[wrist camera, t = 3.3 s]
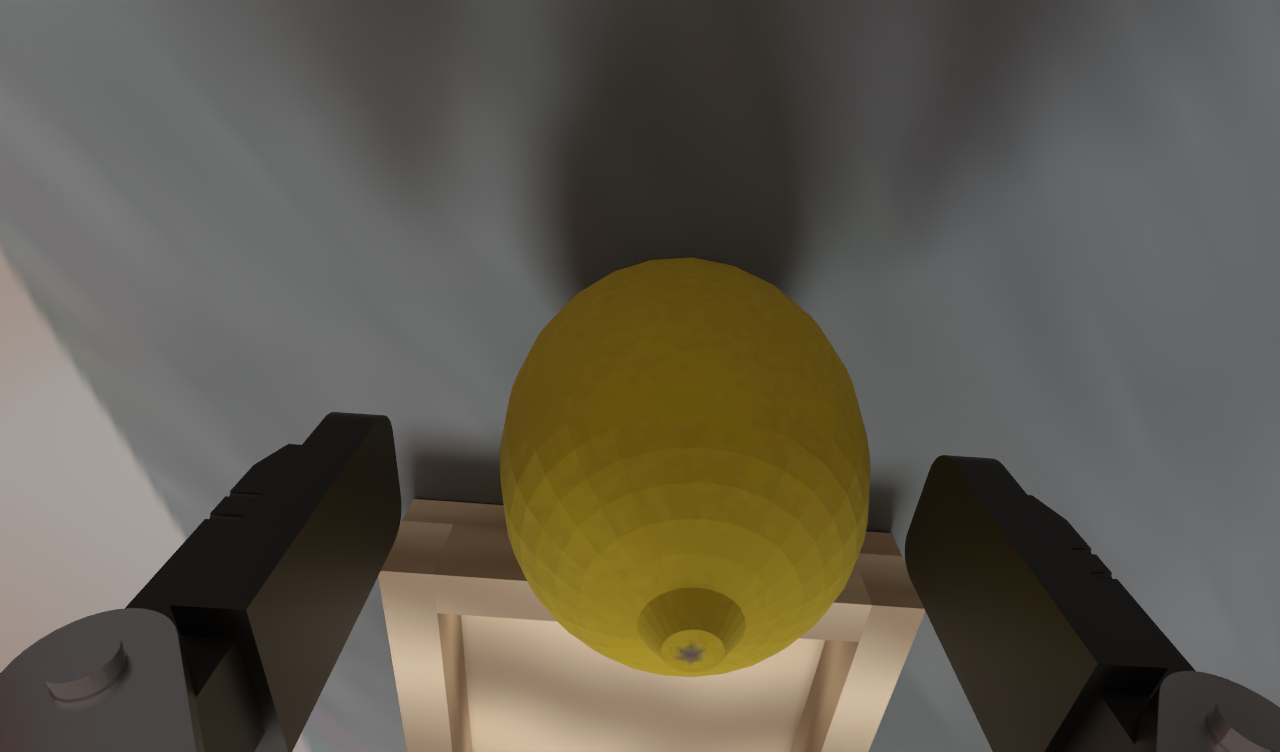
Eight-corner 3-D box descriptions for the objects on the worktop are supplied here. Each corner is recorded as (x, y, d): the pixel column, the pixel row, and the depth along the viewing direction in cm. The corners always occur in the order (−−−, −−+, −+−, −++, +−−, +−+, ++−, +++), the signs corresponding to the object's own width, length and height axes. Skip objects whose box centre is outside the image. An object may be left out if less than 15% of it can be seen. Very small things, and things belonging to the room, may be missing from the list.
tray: (413, 499, 16) (377, 570, 14) (891, 533, 16) (926, 608, 14) (446, 777, 22) (425, 857, 20) (799, 799, 22) (815, 882, 20)
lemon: (712, 145, 12) (791, 323, 5) (851, 362, 14) (1044, 702, 7) (490, 306, 14) (315, 610, 7) (644, 479, 16) (635, 849, 9)
